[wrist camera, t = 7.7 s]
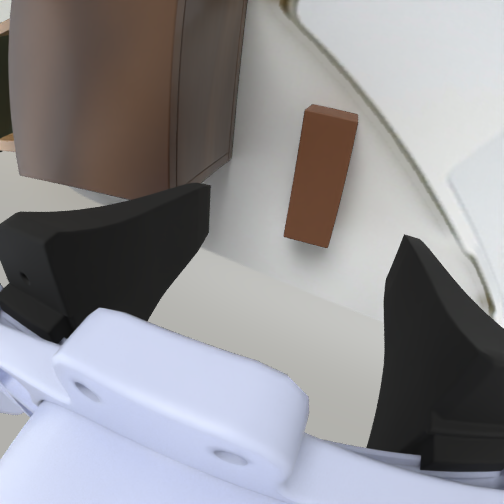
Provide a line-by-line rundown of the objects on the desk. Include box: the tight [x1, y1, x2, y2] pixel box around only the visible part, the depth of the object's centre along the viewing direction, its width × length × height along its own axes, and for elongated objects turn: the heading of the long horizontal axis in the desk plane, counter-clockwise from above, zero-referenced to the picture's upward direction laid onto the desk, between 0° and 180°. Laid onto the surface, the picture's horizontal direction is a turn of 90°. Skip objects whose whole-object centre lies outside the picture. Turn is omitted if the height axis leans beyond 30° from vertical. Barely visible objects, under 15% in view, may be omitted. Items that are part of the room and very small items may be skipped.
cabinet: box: [8, 0, 247, 200], centre depth 14 cm, size 11×11×7 cm
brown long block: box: [284, 104, 358, 248], centre depth 16 cm, size 7×2×2 cm, turn 174°
